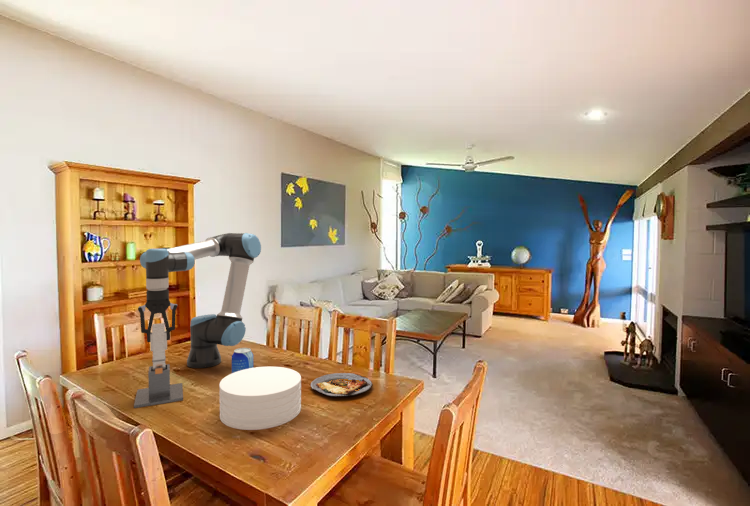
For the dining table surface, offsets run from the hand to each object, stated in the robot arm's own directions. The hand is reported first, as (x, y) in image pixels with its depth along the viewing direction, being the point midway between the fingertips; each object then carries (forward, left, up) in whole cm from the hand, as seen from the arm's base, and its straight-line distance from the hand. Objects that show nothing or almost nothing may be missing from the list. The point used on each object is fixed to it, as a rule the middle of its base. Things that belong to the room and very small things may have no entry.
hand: (158, 349), depth 154 cm
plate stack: (-33, +29, -19) cm, 48 cm away
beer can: (-30, +6, -19) cm, 36 cm away
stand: (0, 0, -18) cm, 18 cm away
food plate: (-67, +22, -19) cm, 73 cm away
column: (0, 0, -12) cm, 12 cm away
